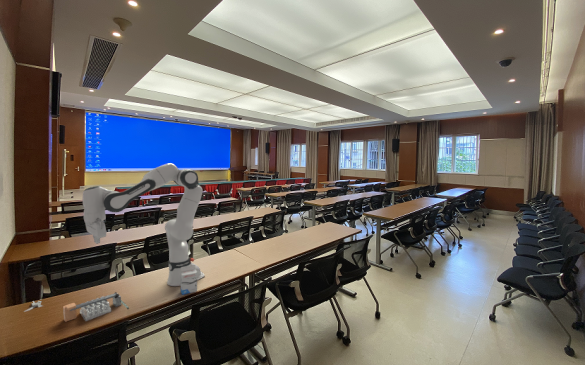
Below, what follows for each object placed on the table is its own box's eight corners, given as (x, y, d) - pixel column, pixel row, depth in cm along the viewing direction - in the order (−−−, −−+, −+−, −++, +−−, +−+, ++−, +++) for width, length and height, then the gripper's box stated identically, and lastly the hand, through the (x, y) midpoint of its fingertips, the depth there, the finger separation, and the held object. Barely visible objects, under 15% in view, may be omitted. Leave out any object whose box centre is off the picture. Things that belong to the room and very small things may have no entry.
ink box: (182, 295, 142) (181, 270, 141) (180, 291, 146) (180, 267, 145) (197, 291, 147) (197, 267, 146) (195, 287, 151) (195, 264, 150)
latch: (74, 315, 120) (74, 300, 120) (78, 320, 117) (77, 305, 116) (63, 319, 117) (63, 304, 117) (66, 324, 114) (66, 308, 113)
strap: (116, 294, 131) (116, 291, 131) (119, 296, 129) (119, 294, 129) (68, 309, 116) (68, 306, 116) (70, 311, 114) (70, 309, 114)
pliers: (18, 317, 118) (23, 303, 130) (18, 320, 119) (23, 306, 130) (47, 309, 125) (49, 297, 136) (47, 312, 125) (49, 300, 136)
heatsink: (116, 300, 134) (116, 291, 134) (123, 307, 128) (122, 298, 128) (80, 313, 122) (79, 303, 122) (85, 321, 116) (85, 311, 116)
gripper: (108, 218, 127) (111, 245, 129) (96, 213, 140) (98, 237, 141) (93, 221, 122) (95, 248, 124) (82, 215, 135) (84, 240, 136)
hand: (97, 242), depth 132 cm, fingers closed
